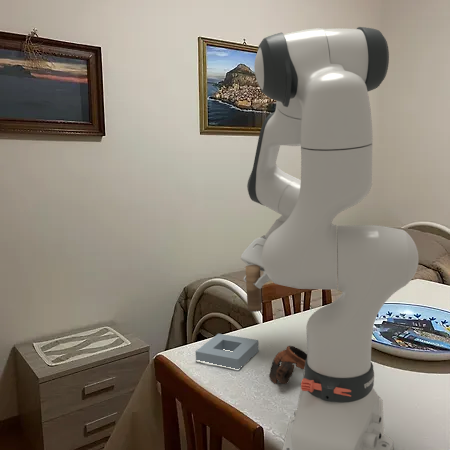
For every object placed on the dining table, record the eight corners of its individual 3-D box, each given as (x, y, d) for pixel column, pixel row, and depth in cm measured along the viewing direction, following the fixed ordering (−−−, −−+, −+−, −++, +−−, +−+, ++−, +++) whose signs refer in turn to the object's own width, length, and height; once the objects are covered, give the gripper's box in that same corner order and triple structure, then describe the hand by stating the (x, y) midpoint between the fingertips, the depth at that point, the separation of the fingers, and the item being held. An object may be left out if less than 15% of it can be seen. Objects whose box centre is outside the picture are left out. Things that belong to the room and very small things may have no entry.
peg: (258, 312, 112) (256, 269, 110) (245, 310, 114) (243, 268, 112) (264, 307, 115) (262, 265, 113) (251, 306, 117) (249, 264, 115)
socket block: (238, 371, 110) (238, 359, 109) (196, 362, 115) (195, 351, 115) (258, 350, 120) (258, 340, 120) (218, 343, 126) (218, 333, 125)
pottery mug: (272, 368, 111) (288, 339, 110) (305, 391, 108) (322, 362, 107) (257, 379, 100) (274, 347, 99) (294, 405, 97) (312, 373, 96)
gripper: (254, 227, 123) (224, 268, 121) (298, 239, 105) (264, 287, 103) (269, 241, 126) (239, 281, 124) (314, 254, 108) (281, 302, 105)
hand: (251, 284), depth 113 cm, fingers closed on peg, 4 cm apart
